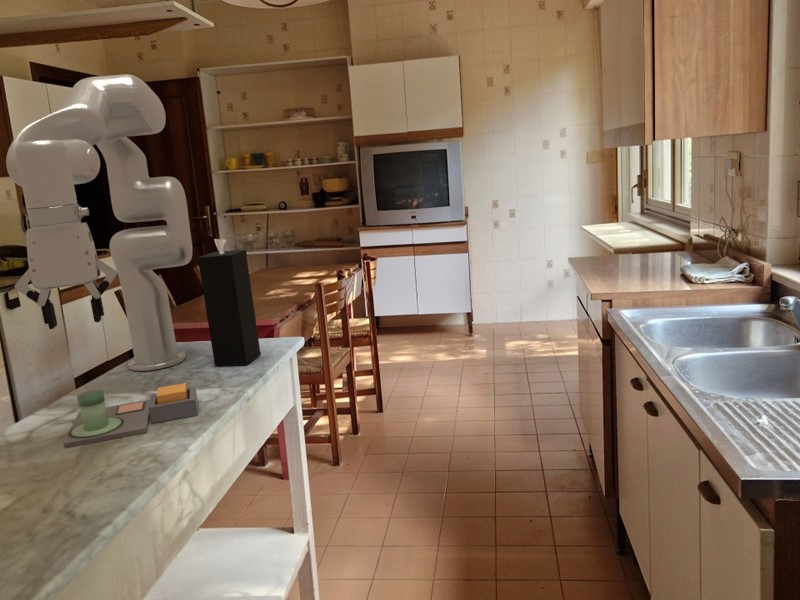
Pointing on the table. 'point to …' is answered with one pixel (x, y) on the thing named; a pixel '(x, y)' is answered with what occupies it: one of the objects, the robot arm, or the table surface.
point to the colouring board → (112, 424)
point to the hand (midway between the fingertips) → (75, 323)
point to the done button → (172, 393)
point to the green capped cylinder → (93, 410)
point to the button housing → (173, 408)
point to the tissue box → (229, 306)
